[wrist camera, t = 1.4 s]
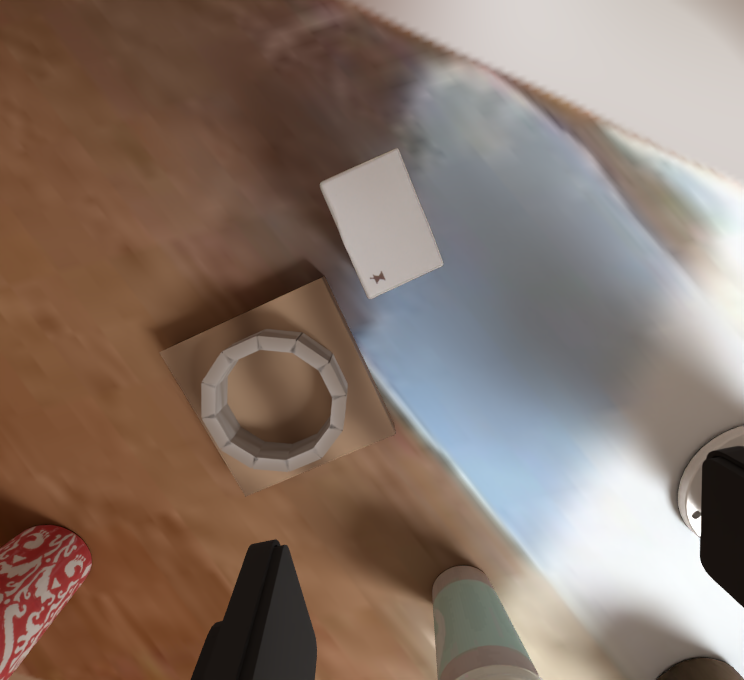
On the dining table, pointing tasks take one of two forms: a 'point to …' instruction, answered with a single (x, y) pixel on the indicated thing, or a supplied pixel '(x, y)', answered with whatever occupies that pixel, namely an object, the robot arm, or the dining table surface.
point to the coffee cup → (475, 630)
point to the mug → (36, 587)
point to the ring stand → (281, 388)
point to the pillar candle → (701, 671)
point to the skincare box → (382, 223)
